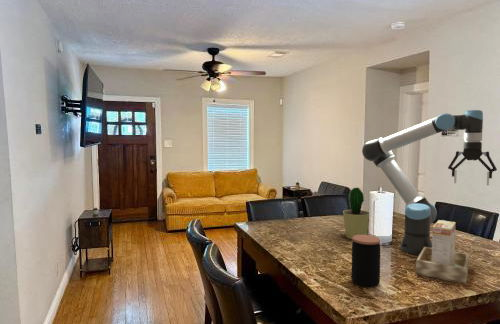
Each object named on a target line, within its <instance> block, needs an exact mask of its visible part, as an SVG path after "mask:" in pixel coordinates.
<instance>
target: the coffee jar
mask: <svg viewBox="0 0 500 324" xmlns="http://www.w3.org/2000/svg"><path fill="white" fill-rule="evenodd" d="M351 240H352V243H351V277H350V278H351V280H352V282H353V284H355V285H357V286H358V287H361V288H366V289H367V288H369V289H370V288H372V289H373V288H376V287H377V286H379V284H380V283H381V282H380V281H381V278H380V277H381V244H380V243H381V238H379V237H377V236H375V235H371V234H370V235H369V234H367V235H355V236H353V237H352V239H351Z"/></svg>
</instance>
